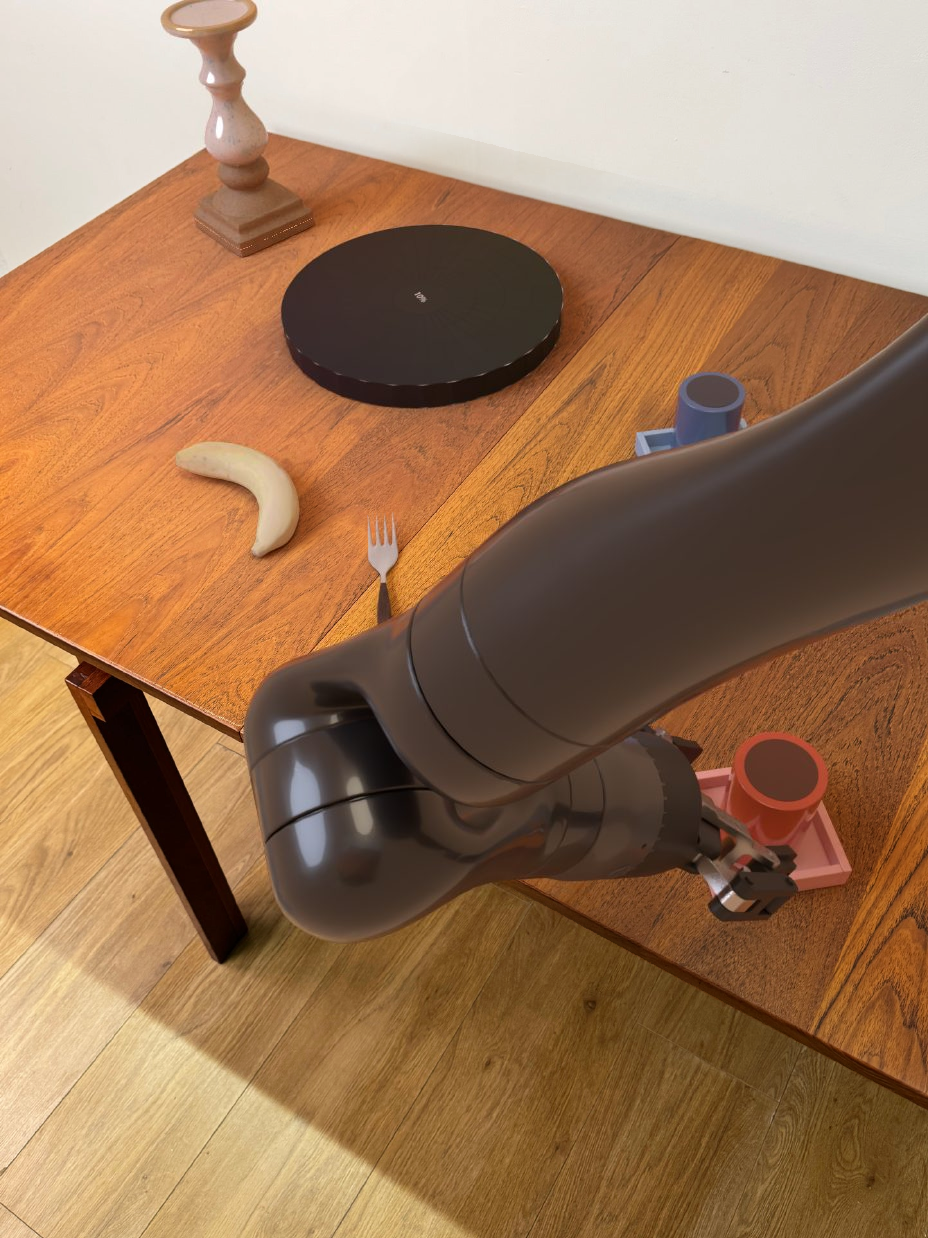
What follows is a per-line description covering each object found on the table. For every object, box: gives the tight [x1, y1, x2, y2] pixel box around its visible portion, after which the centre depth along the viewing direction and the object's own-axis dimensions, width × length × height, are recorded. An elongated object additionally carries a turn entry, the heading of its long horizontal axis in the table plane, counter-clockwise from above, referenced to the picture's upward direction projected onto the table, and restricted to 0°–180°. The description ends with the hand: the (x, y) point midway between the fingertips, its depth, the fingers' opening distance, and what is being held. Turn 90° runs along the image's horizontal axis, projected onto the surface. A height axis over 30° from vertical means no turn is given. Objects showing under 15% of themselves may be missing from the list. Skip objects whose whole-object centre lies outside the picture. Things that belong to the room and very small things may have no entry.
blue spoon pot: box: [670, 371, 747, 449], centre depth 88 cm, size 6×6×8 cm
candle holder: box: [160, 0, 316, 258], centre depth 114 cm, size 11×11×24 cm
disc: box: [280, 224, 564, 409], centre depth 107 cm, size 30×30×3 cm
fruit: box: [174, 440, 300, 558], centre depth 90 cm, size 7×15×3 cm, turn 38°
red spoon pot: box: [720, 731, 829, 866], centre depth 64 cm, size 6×6×8 cm
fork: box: [367, 512, 399, 625], centre depth 82 cm, size 3×16×2 cm, turn 4°
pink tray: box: [694, 766, 853, 899], centre depth 67 cm, size 9×9×2 cm
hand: (734, 807), depth 61 cm, fingers open, 8 cm apart
